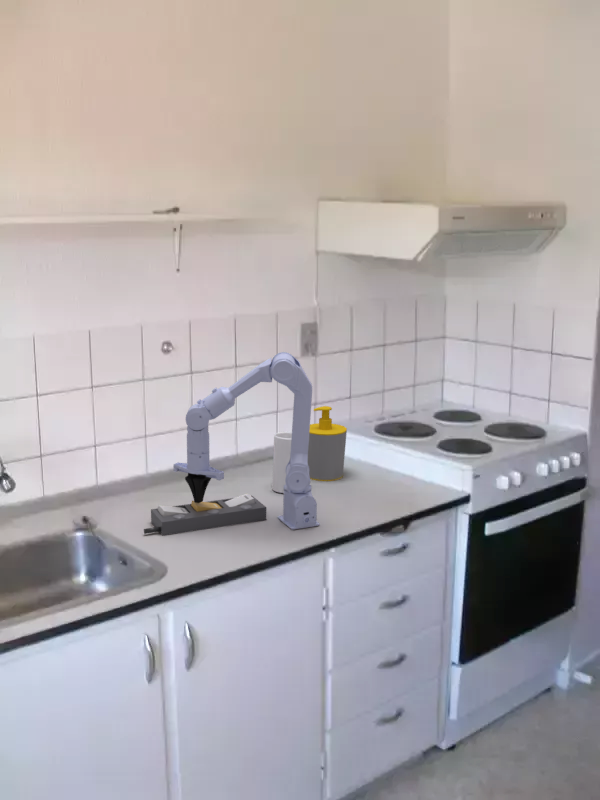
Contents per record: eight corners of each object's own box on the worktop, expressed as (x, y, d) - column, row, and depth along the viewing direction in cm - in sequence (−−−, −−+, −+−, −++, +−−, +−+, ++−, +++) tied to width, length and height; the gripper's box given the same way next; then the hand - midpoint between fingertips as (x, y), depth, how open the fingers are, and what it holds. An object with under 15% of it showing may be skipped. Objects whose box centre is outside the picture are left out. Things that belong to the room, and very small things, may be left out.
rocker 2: (255, 503, 236) (253, 498, 236) (231, 512, 234) (229, 507, 234) (248, 497, 241) (247, 492, 240) (224, 507, 238) (223, 502, 238)
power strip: (266, 519, 234) (266, 506, 233) (146, 537, 221) (146, 523, 220) (251, 507, 243) (251, 494, 242) (135, 524, 230) (135, 510, 229)
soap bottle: (300, 469, 277) (301, 402, 272) (342, 468, 279) (343, 402, 274) (305, 482, 265) (306, 412, 260) (349, 481, 266) (351, 412, 261)
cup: (290, 495, 252) (293, 440, 249) (266, 489, 257) (268, 435, 253) (306, 488, 259) (308, 434, 256) (282, 483, 263) (284, 430, 260)
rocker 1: (188, 519, 229) (189, 513, 229) (162, 516, 226) (164, 510, 226) (182, 512, 233) (184, 507, 233) (157, 510, 230) (158, 504, 230)
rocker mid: (221, 514, 233) (223, 508, 233) (196, 511, 230) (198, 506, 230) (215, 508, 237) (216, 503, 237) (190, 505, 234) (192, 500, 234)
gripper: (230, 451, 229) (230, 502, 232) (184, 443, 236) (185, 492, 239) (214, 458, 223) (215, 510, 226) (168, 449, 230) (168, 500, 233)
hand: (198, 501), depth 232 cm, fingers closed
